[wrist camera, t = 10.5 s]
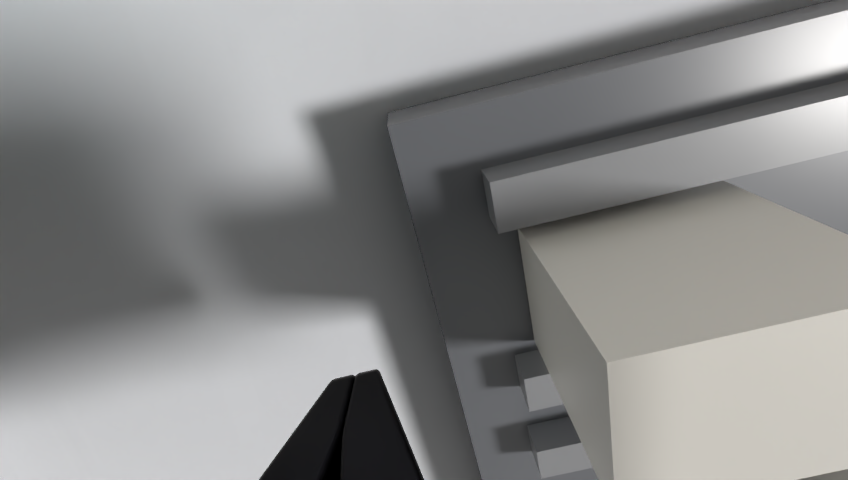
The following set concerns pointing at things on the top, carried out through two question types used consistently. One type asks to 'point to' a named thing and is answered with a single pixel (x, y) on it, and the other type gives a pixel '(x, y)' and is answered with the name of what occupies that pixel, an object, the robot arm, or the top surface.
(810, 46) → the switch bank
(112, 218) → the top surface
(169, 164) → the top surface
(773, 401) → the white rectangular block
